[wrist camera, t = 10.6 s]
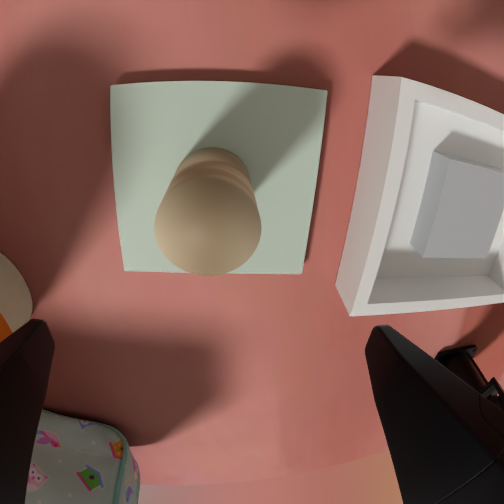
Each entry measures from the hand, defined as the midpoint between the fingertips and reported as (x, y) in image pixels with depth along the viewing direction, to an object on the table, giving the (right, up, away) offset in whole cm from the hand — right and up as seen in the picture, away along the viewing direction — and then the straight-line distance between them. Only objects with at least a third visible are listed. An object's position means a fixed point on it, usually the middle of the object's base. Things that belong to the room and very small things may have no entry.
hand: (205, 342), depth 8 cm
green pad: (-1, +7, +11) cm, 13 cm away
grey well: (+16, +6, +13) cm, 22 cm away
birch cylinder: (-1, +6, +10) cm, 12 cm away
